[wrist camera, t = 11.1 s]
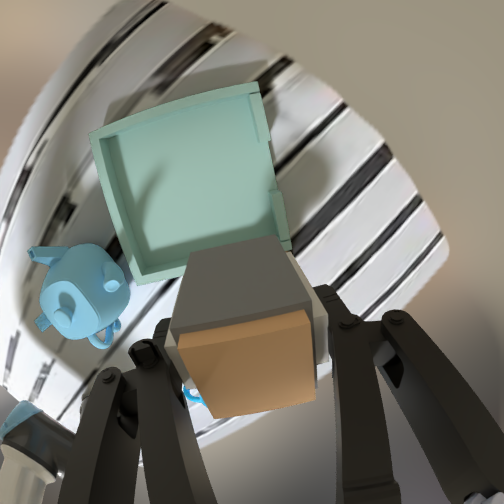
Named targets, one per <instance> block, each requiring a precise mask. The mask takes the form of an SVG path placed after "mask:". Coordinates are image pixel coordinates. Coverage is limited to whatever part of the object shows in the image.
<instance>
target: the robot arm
mask: <svg viewBox="0 0 504 504" xmlns="http://www.w3.org/2000/svg"><path fill="white" fill-rule="evenodd" d="M286 254H287V256H288V258H289V260H290V261H291V263H292V265H293V267H294V268H295V270H296V272H297V274H298V276H299V278H300V279H301V281H302V283H303V285H304V287H305V288H306V290H307V292H308V294H309V296H310V298H311V299H312V308H313V320H314V333H315V348H316V365H318V364H322V363H326V362H329V354H330V357H331V359H332V378H333V385H334V399H335V421H336V504H401V493H400V487H399V485H398V483H397V482H396V481H395V480H394V477H393V471H392V461H391V453H390V446H389V439H388V433H387V426H386V420H385V414H384V409H383V404H382V398H381V394H380V389H379V384H378V379H377V375H376V370H375V366H377V368H378V369H379V371H380V373H381V374H382V376H383V378H384V379H385V381H386V383H387V385H388V387H389V388H390V390H391V392H392V394H393V395H394V397H395V399H396V401H397V402H398V404H399V406H400V408H401V409H402V411H403V413H404V415H405V417H406V418H407V420H408V422H409V424H410V426H411V428H412V430H413V432H414V433H415V435H416V437H417V439H418V441H419V443H420V445H421V447H422V449H423V450H424V452H425V455H426V457H427V459H428V460H429V463H430V465H431V467H432V469H433V470H434V473H435V475H436V477H437V479H438V481H439V483H440V485H441V487H442V490H443V491H444V493H445V495H446V497H447V498H448V500H449V501H450V502H451V504H504V433H503V432H502V431H501V429H500V427H499V426H498V424H497V423H496V422H495V420H494V419H493V417H492V416H491V414H490V413H489V411H488V410H487V409H486V407H485V406H484V404H483V403H482V402H481V400H480V399H479V398H478V396H477V395H476V394H475V392H474V391H473V390H472V388H471V387H470V386H469V384H468V383H467V382H466V381H465V379H464V378H463V377H462V375H461V374H460V373H459V372H458V370H457V369H456V368H455V367H454V366H453V364H452V363H451V362H450V361H449V359H448V358H447V357H446V356H445V355H444V353H442V351H441V350H440V349H439V347H438V346H437V345H436V344H435V343H434V342H433V341H432V340H431V338H430V337H429V336H428V335H427V334H426V333H425V331H424V330H423V329H422V328H421V327H420V326H419V325H418V324H417V322H416V321H415V320H414V319H413V318H412V317H411V316H410V315H409V314H408V313H407V312H405V311H402V310H389V311H387V312H385V313H384V314H383V316H382V320H381V321H363V320H362V319H361V318H360V317H359V316H357V315H354V314H351V313H350V311H349V310H348V308H347V307H346V306H345V304H344V303H343V301H342V300H341V299H340V297H339V296H338V295H337V293H336V291H335V290H334V289H333V288H332V287H330V286H328V285H327V284H324V285H320V286H316V287H312V286H311V285H310V283H309V281H308V279H307V278H306V276H305V274H304V273H303V271H302V269H301V268H300V266H299V265H298V263H297V261H296V260H295V258H294V256H293V255H292V253H291V252H286ZM183 276H184V275H183ZM182 279H183V278H182ZM181 283H182V281H181ZM180 287H181V285H180ZM179 290H180V288H179ZM178 294H179V292H178ZM177 297H178V295H177ZM176 301H177V299H176ZM175 305H176V303H175ZM174 309H175V306H174ZM173 312H174V310H173ZM172 316H173V314H172ZM171 320H172V317H171V318H165V319H161V321H160V322H159V323H158V324H157V325H156V328H155V331H154V334H153V339H142V340H140V341H137V342H136V343H134V344H133V345H132V346H131V347H130V348H129V351H128V354H129V355H130V357H131V359H132V361H133V362H134V364H135V366H136V369H133V370H131V371H128V372H125V373H121V371H120V370H119V369H118V368H116V367H110V368H107V369H105V370H103V371H102V372H101V373H99V375H98V376H97V378H96V381H95V383H94V386H93V388H92V391H91V393H90V396H88V397H86V398H84V399H83V401H82V404H81V406H80V424H79V427H78V430H77V433H76V434H75V433H73V432H72V431H70V430H69V429H67V428H66V427H64V426H63V425H61V424H60V423H58V422H57V421H55V420H54V419H53V418H51V417H50V416H48V415H47V414H46V413H44V412H43V410H41V409H39V408H37V407H36V406H34V405H33V404H32V403H30V402H29V401H26V400H23V401H21V402H19V403H18V405H17V406H16V407H15V408H14V409H13V411H12V412H11V413H10V414H9V416H8V417H7V419H6V420H5V422H4V424H3V425H2V426H1V428H0V439H1V440H3V442H2V445H1V450H2V452H3V455H4V457H5V459H4V462H3V465H2V467H1V470H0V504H42V499H43V494H44V490H45V486H46V484H48V483H52V482H55V480H56V476H57V477H59V478H61V479H63V481H62V485H61V490H60V494H59V499H58V504H134V496H135V486H136V478H137V470H138V463H139V456H140V449H141V450H142V458H143V466H144V472H145V478H146V484H147V490H148V495H149V500H150V504H218V503H217V500H216V498H215V495H214V492H213V489H212V487H211V484H210V481H209V478H208V475H207V472H206V469H205V466H204V463H203V460H202V456H201V453H200V450H199V446H198V443H197V440H196V436H195V433H194V429H193V425H192V422H191V418H190V414H189V410H188V406H187V402H186V398H185V395H184V393H183V391H182V382H183V384H184V386H185V388H186V389H196V388H197V387H196V386H195V384H194V382H193V380H192V378H191V376H190V374H189V372H188V370H187V368H186V366H185V364H184V362H183V360H182V358H181V356H180V354H179V352H178V350H177V348H178V347H177V345H176V343H175V341H174V338H173V336H172V334H171V332H170V329H169V328H170V324H171Z"/></svg>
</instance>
